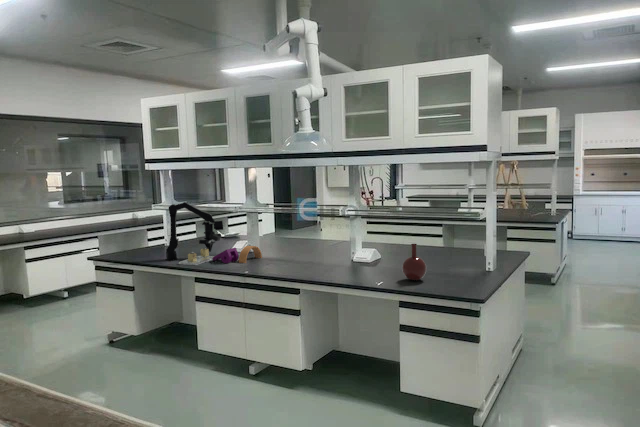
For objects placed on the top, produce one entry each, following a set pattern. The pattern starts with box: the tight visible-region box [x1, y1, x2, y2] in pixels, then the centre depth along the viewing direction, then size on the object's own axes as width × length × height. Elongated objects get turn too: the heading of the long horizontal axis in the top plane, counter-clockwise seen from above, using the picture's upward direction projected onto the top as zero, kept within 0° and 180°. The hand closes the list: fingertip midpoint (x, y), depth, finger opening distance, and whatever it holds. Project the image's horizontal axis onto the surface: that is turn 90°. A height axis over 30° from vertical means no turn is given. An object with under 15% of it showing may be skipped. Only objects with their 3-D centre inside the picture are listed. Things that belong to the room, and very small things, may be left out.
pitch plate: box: [178, 255, 214, 266], centre depth 331 cm, size 14×24×2 cm, turn 160°
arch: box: [238, 245, 263, 264], centre depth 330 cm, size 6×20×10 cm, turn 153°
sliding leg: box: [200, 246, 210, 257], centre depth 339 cm, size 4×4×6 cm
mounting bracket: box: [212, 247, 240, 264], centre depth 328 cm, size 10×8×18 cm
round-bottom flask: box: [401, 243, 427, 281], centre depth 258 cm, size 13×13×20 cm
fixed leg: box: [187, 251, 197, 262], centre depth 325 cm, size 4×4×6 cm
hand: (210, 251), depth 346 cm, fingers closed
